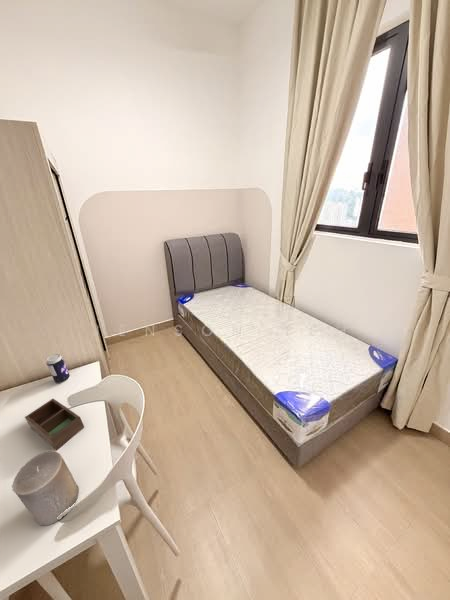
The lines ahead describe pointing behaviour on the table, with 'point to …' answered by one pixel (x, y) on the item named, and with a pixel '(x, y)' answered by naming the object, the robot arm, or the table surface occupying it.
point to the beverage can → (57, 368)
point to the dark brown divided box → (55, 423)
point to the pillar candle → (46, 487)
